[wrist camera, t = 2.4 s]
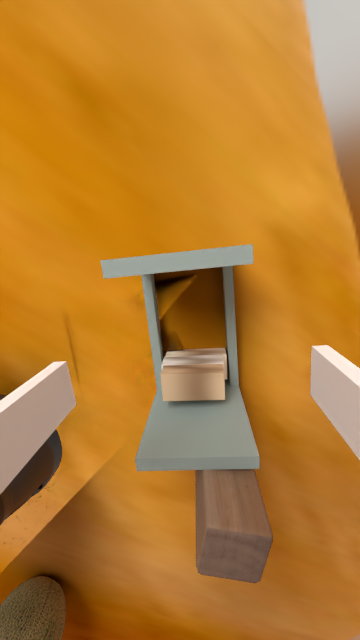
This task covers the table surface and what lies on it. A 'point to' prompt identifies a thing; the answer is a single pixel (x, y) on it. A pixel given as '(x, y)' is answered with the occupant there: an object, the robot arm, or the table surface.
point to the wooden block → (231, 525)
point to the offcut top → (193, 382)
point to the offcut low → (200, 352)
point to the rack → (198, 415)
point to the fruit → (34, 611)
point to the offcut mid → (193, 360)
